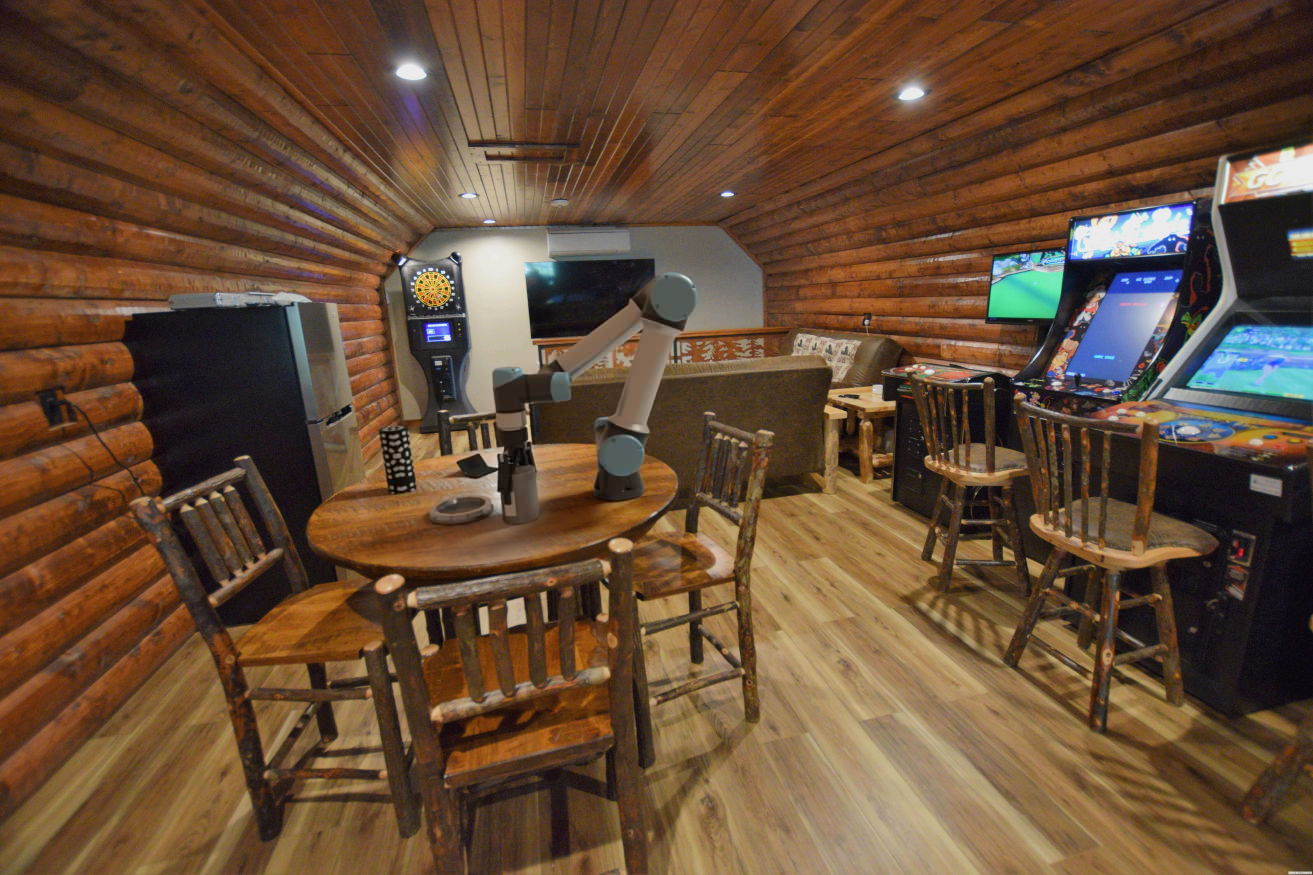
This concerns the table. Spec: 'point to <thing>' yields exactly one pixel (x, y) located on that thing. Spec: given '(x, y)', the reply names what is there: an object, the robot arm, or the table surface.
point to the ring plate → (461, 510)
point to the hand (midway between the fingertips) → (520, 508)
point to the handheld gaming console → (475, 467)
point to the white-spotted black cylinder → (397, 459)
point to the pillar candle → (523, 496)
